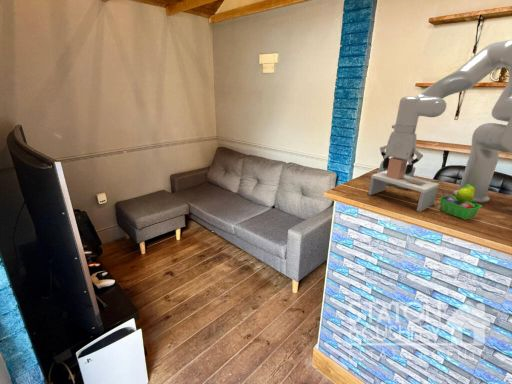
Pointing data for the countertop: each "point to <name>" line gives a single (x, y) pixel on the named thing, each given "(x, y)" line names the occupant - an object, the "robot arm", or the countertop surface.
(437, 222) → the countertop surface
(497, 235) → the countertop surface
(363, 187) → the countertop surface
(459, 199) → the fruit basket
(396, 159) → the peg
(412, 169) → the digital clock
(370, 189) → the keyhole board
